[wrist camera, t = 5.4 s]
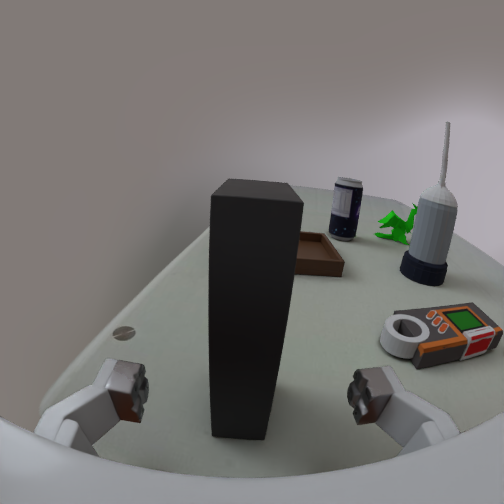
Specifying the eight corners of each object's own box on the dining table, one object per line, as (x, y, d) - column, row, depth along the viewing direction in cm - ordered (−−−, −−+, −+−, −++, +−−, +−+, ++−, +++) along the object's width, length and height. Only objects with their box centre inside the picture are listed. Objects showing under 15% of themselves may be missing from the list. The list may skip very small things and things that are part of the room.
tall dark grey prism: (211, 436, 14) (210, 194, 10) (221, 373, 20) (228, 177, 15) (264, 440, 14) (304, 201, 10) (263, 377, 20) (287, 182, 15)
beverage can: (357, 243, 54) (366, 183, 49) (329, 239, 54) (337, 178, 50) (352, 235, 59) (360, 180, 55) (326, 231, 60) (334, 175, 55)
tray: (215, 268, 38) (216, 251, 37) (226, 237, 50) (227, 225, 50) (341, 277, 38) (344, 261, 37) (322, 245, 51) (324, 233, 50)
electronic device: (375, 309, 26) (475, 299, 26) (368, 333, 27) (467, 320, 27) (404, 352, 19) (507, 328, 20) (393, 378, 20) (497, 350, 21)
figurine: (425, 247, 53) (427, 205, 51) (374, 246, 58) (374, 204, 55) (420, 240, 59) (421, 201, 56) (373, 239, 63) (372, 200, 61)
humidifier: (444, 274, 41) (469, 132, 33) (442, 290, 35) (473, 122, 27) (404, 261, 46) (425, 122, 37) (395, 275, 40) (421, 111, 31)
